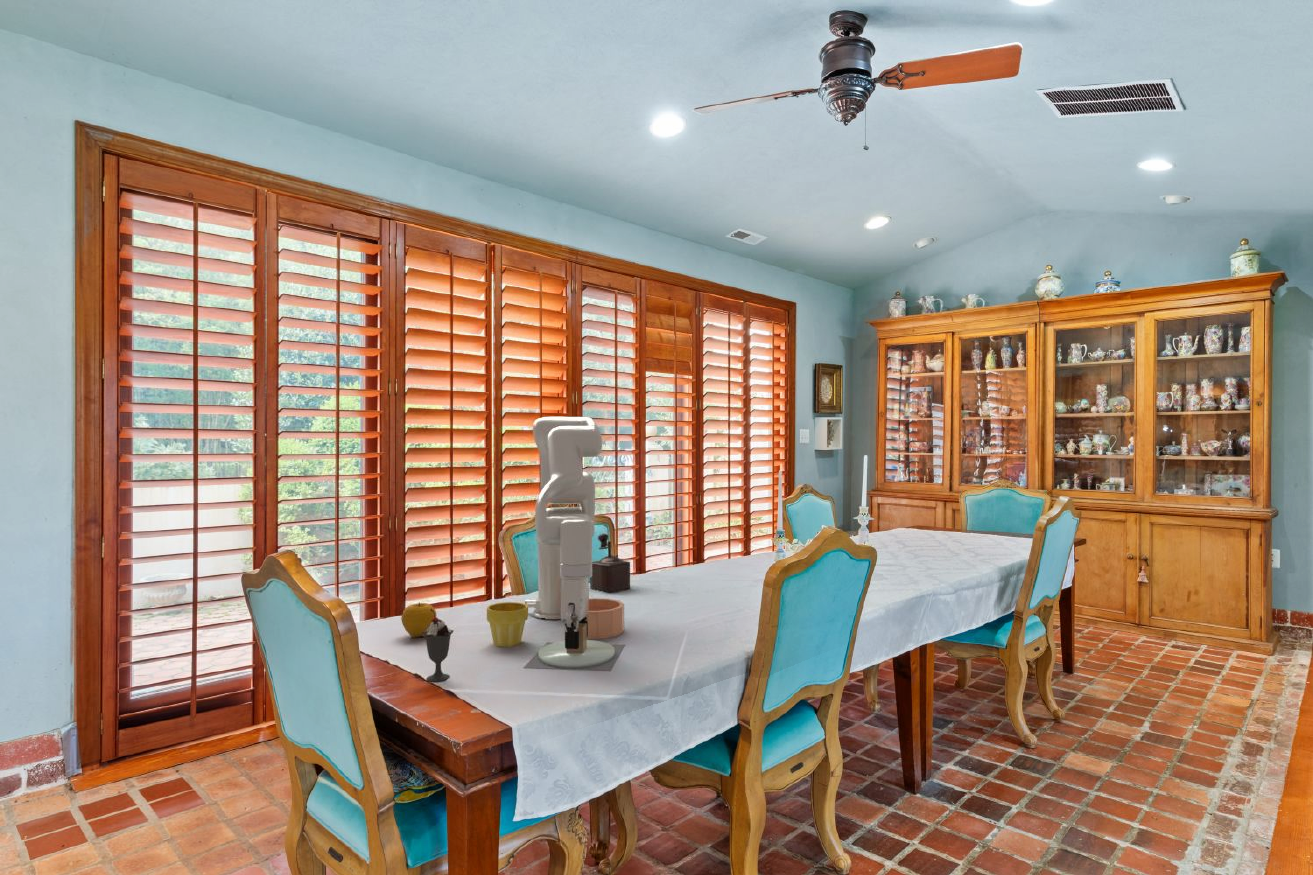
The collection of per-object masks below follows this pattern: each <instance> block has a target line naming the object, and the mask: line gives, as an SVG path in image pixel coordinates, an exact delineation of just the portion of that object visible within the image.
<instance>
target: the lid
mask: <svg viewBox="0 0 1313 875" xmlns="http://www.w3.org/2000/svg"><path fill="white" fill-rule="evenodd" d="M574 626H575V623H574ZM577 631H579V648H578V649H566V648H565V640H562V641H561V640H560V641H556V642H553V643H552V644H549V645H546V646H544V645H543V646H544V647H543V646H542V647H543V648H542V647H541V648H540V649H539V650H538V651H537V653H538V658H539V660H540V661H541V662H542V663H544V664H546V665H550V666H554V667H562V668H582V667H590V666H596V665H600V664H603V663H606V662H608V661H610V660H611V659H613V658H614V656H615V649H614V647H613V646H612V645H610V644H611V643H608V642H605V641H599V640H595V639H587V623H578V630H577Z"/></svg>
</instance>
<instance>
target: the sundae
mask: <svg viewBox="0 0 1313 875" xmlns="http://www.w3.org/2000/svg"><path fill="white" fill-rule="evenodd" d="M430 610H431V611H432V612H433V613H434V611H433V609H430ZM431 621H432V622H431V624H430V625H429V626H428V629H427V631H424V632H422V635H423V636H422V637H424V638H425V642H426V648H427V654H428V658H429V660H431V661H432V662H433V663H434V665H435V669H434V670H435V671H434V673H433V674H431V675H428V676H427V677H426V681H428V682H430V683H440V682H445V681H447V680H449V678H451V676H450V674H448V673H444V672H443V671H442V663H443V662H444V661H445V659H446V658H447V657H448V654H449V650H450V642H451V636H452V634H453V633H454V630H453V629H450V628H449V627H448V625H447V624H446V622H444V621H443V620H442V619H440V618H438V617H437V616H436V617H435V613H434V618H433V619H432V620H431Z"/></svg>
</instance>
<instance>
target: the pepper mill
mask: <svg viewBox="0 0 1313 875" xmlns="http://www.w3.org/2000/svg"><path fill="white" fill-rule="evenodd" d="M597 539H598V541H599V542H600V547H598V550H599V551H600V550H607V552H608V553H607V556H604V557H602V558H601V559H600V560H596V561H595V560H594V561H592V577H589V590H592V591H593V590H594V591H597V590H598V591H597V592H601V591H602V592H601V593H606V594H611V593H615V592H620V591H626V590H630V589H631V562H630V561H627V560H624V559H622V558H619V555H618V554H616V555H612V547H613V546H612V542H611V541H610V540H609V534H607V533H600V534H599V535H598V536H597Z"/></svg>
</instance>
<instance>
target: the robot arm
mask: <svg viewBox="0 0 1313 875" xmlns="http://www.w3.org/2000/svg"><path fill="white" fill-rule="evenodd" d="M532 434H533V439H534V443H535V445H536V447H537V450H538V453H539V459H540V492H539V494H538V496H537V499H536V502H535V510H534V512H535V514H534V515H535V518H534V527H535V533H536V540H537V553H538V554H537V557H538V558H537V561H538V562H537V563H538V566H537V567H538V570H537V571H538V574H537V575H538V576H537V577H538V578H537V579H538V584H537V585H538V594H537V595H538V597H537V598H536V599H534V600H533V599H525V601H524V604H526V605H528V609H529V608H534V610H533V612H532V615H533V616H534V617H535V618H538V619H541V618H545V619H544V620H561V621H562V622H564V621H565V623H564V626H565V627H564V641H565V648H566V649H578V648H579V631H577V630H578V623H587V636H588V621H585V620H587V619H588V616H587V613H588V611H589V599H590V580H589V579H590V577H592V562H593V537H594V536H595V535H594V534H595V524H596V523H595V520H596V519H595V514H596V513H595V512H596V506H595V505H596V484H595V480H594V477H593V475H592V474H591V473H590V472H587V471H583V464H582V458H587V457H588V458H594V457H598V456H599V455H600V454H601V452H602V451H603V450H602V449H603V438H602V434H601V430H600V428H599V426H598V425H597V423H596V422H595V420H594V419H593V418H591V417H587V416H544V417H540V418H537V419H535V420H534V422H533V425H532ZM548 504H549V505H568V504H569V505H573V504H574V505H575V504H576V505H579V506H570V507H569V506H567V507H565V506H562V507H547V506H548ZM572 617H575V618H572ZM574 623H575V626H574Z"/></svg>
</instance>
